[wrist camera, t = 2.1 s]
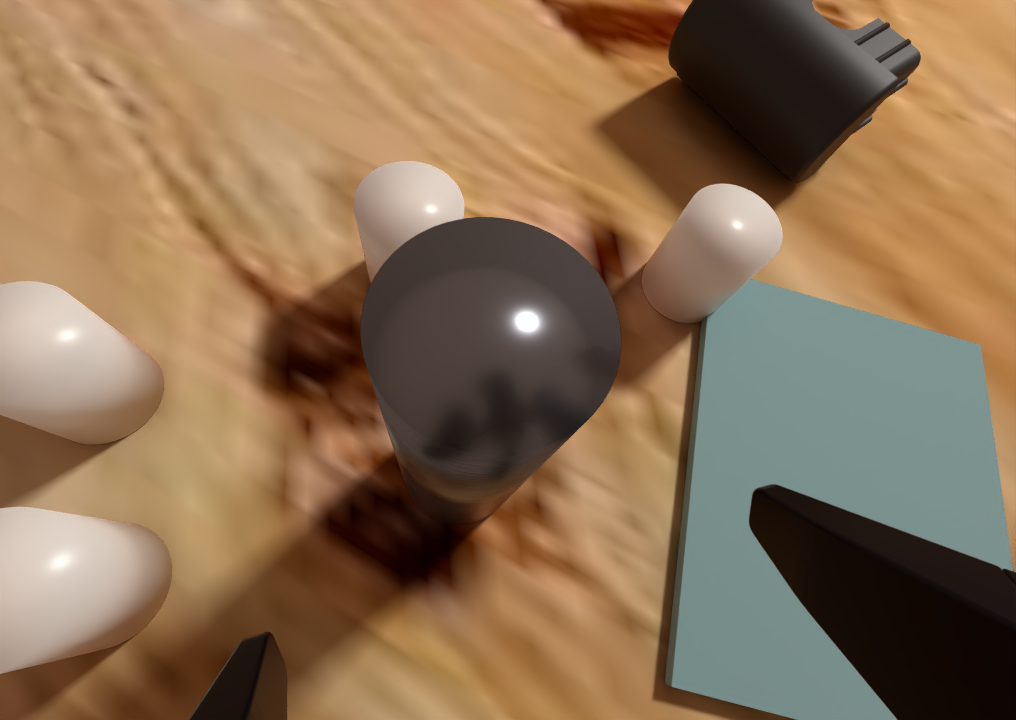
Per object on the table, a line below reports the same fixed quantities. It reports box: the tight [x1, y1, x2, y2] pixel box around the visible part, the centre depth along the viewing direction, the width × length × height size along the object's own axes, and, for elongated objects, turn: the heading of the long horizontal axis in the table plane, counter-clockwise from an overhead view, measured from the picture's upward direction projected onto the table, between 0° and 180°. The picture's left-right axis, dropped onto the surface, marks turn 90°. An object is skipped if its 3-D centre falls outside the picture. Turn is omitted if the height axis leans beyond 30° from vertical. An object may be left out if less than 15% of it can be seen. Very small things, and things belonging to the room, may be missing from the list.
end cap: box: [668, 0, 921, 182], centre depth 27 cm, size 10×7×7 cm
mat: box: [665, 279, 1013, 720], centre depth 22 cm, size 18×14×1 cm
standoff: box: [360, 217, 621, 525], centre depth 15 cm, size 4×4×13 cm
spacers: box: [0, 161, 783, 674], centre depth 20 cm, size 14×29×5 cm, turn 105°
